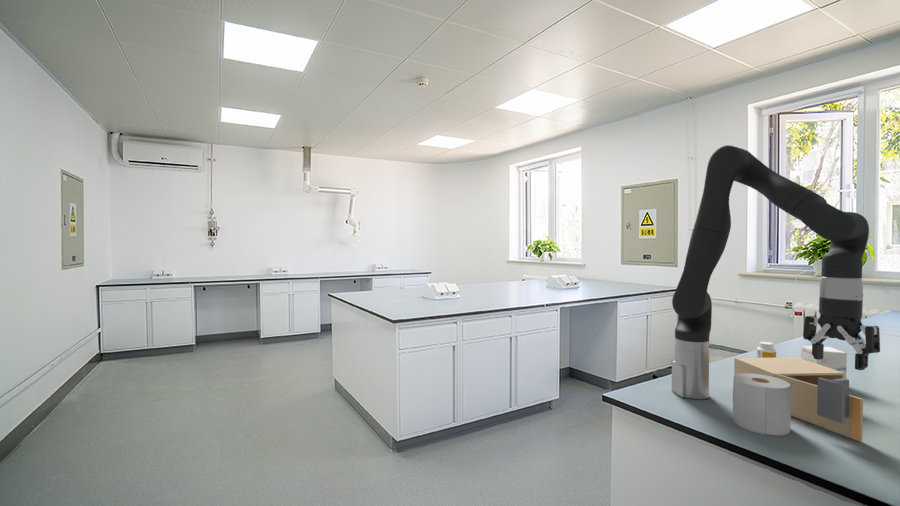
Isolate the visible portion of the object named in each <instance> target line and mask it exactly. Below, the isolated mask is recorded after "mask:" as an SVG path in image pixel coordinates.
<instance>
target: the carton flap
mask: <svg viewBox="0 0 900 506" xmlns="http://www.w3.org/2000/svg"><path fill="white" fill-rule="evenodd" d="M774 377H775V378H779V379H782V380H784V381H786V382H788V383H789V384H790V388H791V417H794V418H796V419H799V420H802V421H804V422H807V423H810V424H812V425H816V426H818V427H821V428H822V429H823V428H824V429H826V430H829V431H832V432H834V433H837V434H840V435H842V436H845V437H848V438H851V440H855V441H858V442H863V435H864V434H863V430H864V429H863V427H864V422H863V421H864V399H863V398H861V397H858V396H855V395H851V394H850V379H849V378H848V379H847V378H846V379H845V378H841V379H834V380H828V379H824V378H818V386H817V385H814V384H810V383H807V382H803V381H800V380H797V379H793V378H790V377H786V376H783V375H779V374H776V373H775V374H774Z"/></svg>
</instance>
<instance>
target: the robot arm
mask: <svg viewBox="0 0 900 506" xmlns="http://www.w3.org/2000/svg"><path fill="white" fill-rule="evenodd" d="M734 182H737V183H739V184H741V185H745V186H747V187H749V188H751V189H753V190H755V191H757V192H758V193H760V194H762V195H763V196H764V197H765V198H766V199H767V200H768V201H770V203H771V204H773V205H775V206H776V207H777V208H779V210H782V211H783V212H786V213H787V215H790V216H792V217H793V218H795V219H797V220H800V221H801V222H802V224H804V225H805V226H806V227H807V228H808V229H810V230H811V231H812V232H813V233H815V234H816V235H818V236H819V237H821V238H823V239H825V240H827V241H830V243H829V249H828V252H826V253H824V254H823V256H822V260H821V274H820V275H821V278H820V283H819V295H818V297H819V298H818V306H819V307H818V313H819V317H817V315H807V316H804V324H803V332H802V333H803V336H802V338H803V339H804V340H807V341H808V342H809V341H810V343H811V346H812V355H813V356H814V359H817V360H820V359H823V352H824V346H825V344H824V342H825V341H826V340H828V339H830V338H831V339H838V340H840V341H846V343H848V345H850V346H852V348H853V349H854V351H855V352H856V353H855V354H854V355H855V356H854V369H855V370H857V371H864V370H866V369H867V368H868V366H869V355H871V354H878V353H880V352H881V339H880V337H881V335H880V327H879V326H878V325H863V323H862V318H863V308H864V307H863V305H864V303H863V301H864V284H863V258H864V257H863V256H864V255H865V252H866V248H867V245H868V241H869V235H870V227H869V223H868V220H867V219H866V217H865V216H863V215H862V214H860V213H859V212H853V211H843V210H841V209H839V208H837V207H835V206H833V205H832V204H830V203H828V202H827V200H826V198H824V197H823V196H822V195H820V194H819V193H816V192H815V191H812V190H811V189H808V188H807V187H805V186H803V185H801V184H799V183H797V182H796V181H793V180H791V179H788V178H787V177H785V176H783V175H781V174H780V173H778V172H776V171H775V170H773V169H772V168H770V167H768V166H767V165H766V164H764V163H763V162H761V160H759V158H757V157H755V155H754V154H752V153H751V152H750V151H749V150H746V149H745V148H744V149H743V148H741V147H737V146H734V145H727V144H726V145H723V146H720V147H717V149H716V150H714V152H713V153H712V154H711V155H710V157H709V160H708V162H707V165H706V172H705V179H704V186H703V192H702V196H701V200H700V204H699V208H698V211H697V215H696V219H695V221H694V225H693V229H692V232H691V236H690V240H689V245H688V248H687V253H686V257H685V262H684V267H683V271H682V274H681V276H680V278H679V281H678V283H677V286H676V289H675V292H674V294H673V296H672V300H671V303H672V308H673V310H674V312H675V313H676V315H677V324H676V326H675V329H674V360H672V361H671V392H674V393H675V394H676V395H677V396H679V397H681V398H685V399H687V398H688V399H693V400H706V399H708V398H709V397H710V334H711V329H712V312H713V311H712V309H713V308H712V307H713V306H712V305H713V304H712V297H711V295H710V294H709V291H708V288H709V284H710V280H711V276H712V274H713V272H714V270H715V268H716V266H717V265H718V264H719V261H720V259H721V257H722V255H723V254H724V252H725V249H726V246H727V243H728V240H729V236H730V233H731V227H732V219H731V210H730V194H731V191H732V187H733V185H734ZM818 325H819V327H820V329H819V330H818V331H817V326H818ZM861 332H862V334H864V336H865V339H864V338H863V337H862V336H861V334H860V333H861Z"/></svg>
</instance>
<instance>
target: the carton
mask: <svg viewBox="0 0 900 506" xmlns="http://www.w3.org/2000/svg"><path fill="white" fill-rule="evenodd" d="M733 360H734V364H733V365H734V374H733V376H734V375H736V374H743V373H749V374H760V375H766V376H771V377H774V374H775V373H776V374H779V375H783V376H786V377H790V378H793V379H797V380H800V381H803V382H807V383H810V384H814V385H817V386H818V378H824V379H828V380H834V379H841V378H845V373H843V372H840V371H837V370H834V369H831V368H828V367H825V366H822V365H819V364H816V363H813V362H810V361H807V360H804V359H801V357H797V356H796V357H795V356H794V357H792V356H790V357H786V356H785V357H776V358H757V357H734V359H733Z"/></svg>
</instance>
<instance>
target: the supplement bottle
mask: <svg viewBox="0 0 900 506" xmlns="http://www.w3.org/2000/svg"><path fill="white" fill-rule="evenodd" d="M756 358H777V350H776V349H775V348H774V343H773V342H770V341H769V342H768V341H760V342H759V346H758V347H757V348H756Z"/></svg>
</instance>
